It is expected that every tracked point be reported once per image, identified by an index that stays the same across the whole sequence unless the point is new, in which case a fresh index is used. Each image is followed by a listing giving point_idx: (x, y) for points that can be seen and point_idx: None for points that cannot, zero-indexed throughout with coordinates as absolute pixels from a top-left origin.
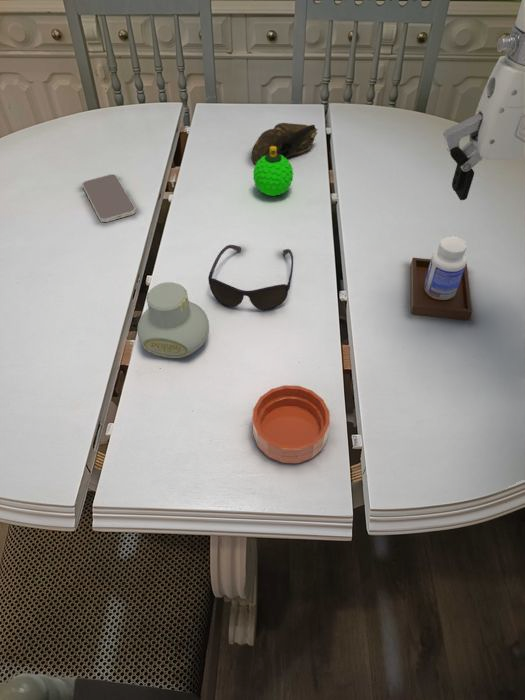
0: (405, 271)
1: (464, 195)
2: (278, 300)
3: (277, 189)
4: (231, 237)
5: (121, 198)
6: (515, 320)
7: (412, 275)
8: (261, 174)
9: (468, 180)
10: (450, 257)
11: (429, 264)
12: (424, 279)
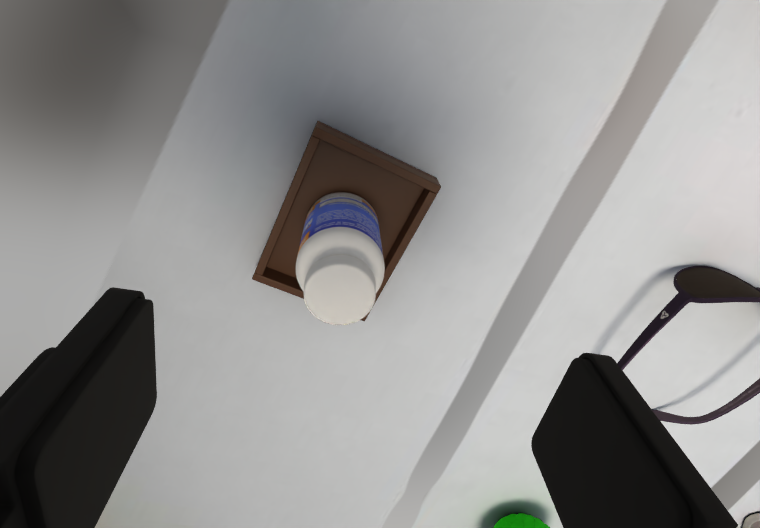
0: (381, 296)
1: (615, 373)
2: (694, 276)
3: (528, 525)
4: None
5: None
6: (202, 87)
7: (389, 275)
8: None
9: (684, 461)
10: (359, 260)
11: None
12: None
